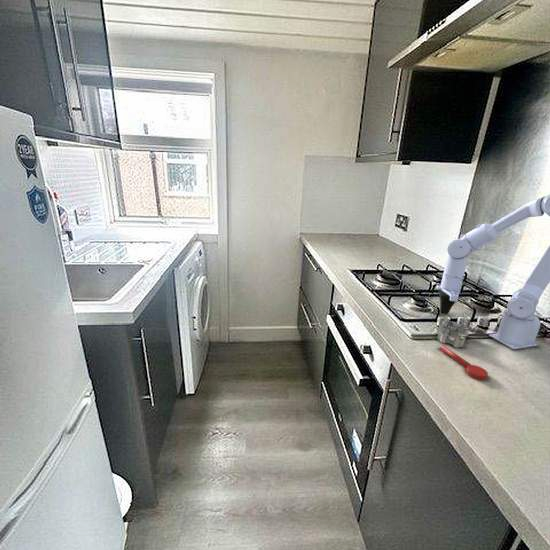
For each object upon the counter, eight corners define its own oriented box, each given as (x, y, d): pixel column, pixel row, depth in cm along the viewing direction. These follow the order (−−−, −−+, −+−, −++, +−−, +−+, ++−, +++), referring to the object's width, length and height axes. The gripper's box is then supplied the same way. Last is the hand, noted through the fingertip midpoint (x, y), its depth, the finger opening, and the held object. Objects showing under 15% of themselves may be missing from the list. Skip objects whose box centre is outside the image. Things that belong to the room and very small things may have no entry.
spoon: (446, 347, 86) (447, 343, 86) (491, 378, 73) (492, 373, 73) (433, 349, 85) (434, 345, 84) (476, 381, 72) (478, 376, 72)
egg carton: (461, 350, 85) (465, 337, 84) (433, 340, 90) (436, 328, 88) (469, 336, 93) (472, 324, 91) (442, 327, 97) (445, 316, 96)
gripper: (435, 267, 106) (427, 303, 110) (443, 280, 93) (434, 320, 97) (458, 270, 104) (449, 306, 108) (469, 283, 91) (459, 324, 95)
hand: (443, 313), depth 103 cm, fingers closed
